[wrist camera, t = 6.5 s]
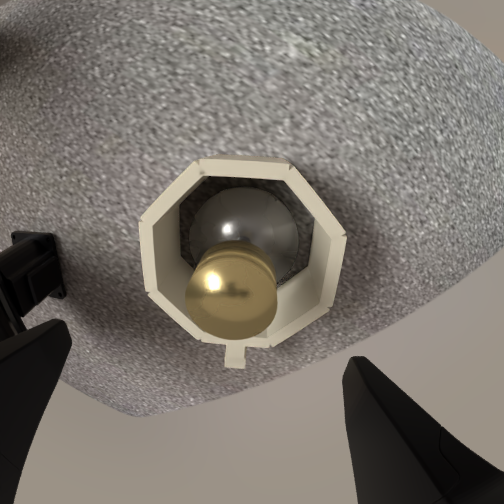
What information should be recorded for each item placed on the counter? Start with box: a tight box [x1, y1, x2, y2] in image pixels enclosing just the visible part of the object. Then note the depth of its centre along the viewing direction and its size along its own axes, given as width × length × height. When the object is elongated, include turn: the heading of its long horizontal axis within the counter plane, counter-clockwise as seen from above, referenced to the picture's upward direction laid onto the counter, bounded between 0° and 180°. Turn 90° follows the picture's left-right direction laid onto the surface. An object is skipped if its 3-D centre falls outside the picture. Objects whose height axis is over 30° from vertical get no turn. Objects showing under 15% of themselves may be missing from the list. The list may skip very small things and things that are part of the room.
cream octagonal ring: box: [139, 154, 347, 369], centre depth 17 cm, size 11×13×5 cm
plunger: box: [185, 186, 299, 340], centre depth 15 cm, size 7×7×8 cm
